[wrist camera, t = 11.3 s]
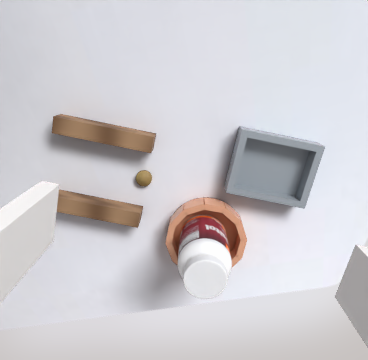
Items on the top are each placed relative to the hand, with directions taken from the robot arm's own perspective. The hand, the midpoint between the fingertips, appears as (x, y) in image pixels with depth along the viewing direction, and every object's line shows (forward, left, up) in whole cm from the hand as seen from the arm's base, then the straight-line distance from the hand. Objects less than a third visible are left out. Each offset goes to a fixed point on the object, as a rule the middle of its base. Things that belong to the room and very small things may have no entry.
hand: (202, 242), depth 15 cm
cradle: (-11, -7, -29) cm, 32 cm away
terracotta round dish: (+4, -13, -29) cm, 32 cm away
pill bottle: (+4, -13, -28) cm, 31 cm away
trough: (+10, -2, -29) cm, 30 cm away
